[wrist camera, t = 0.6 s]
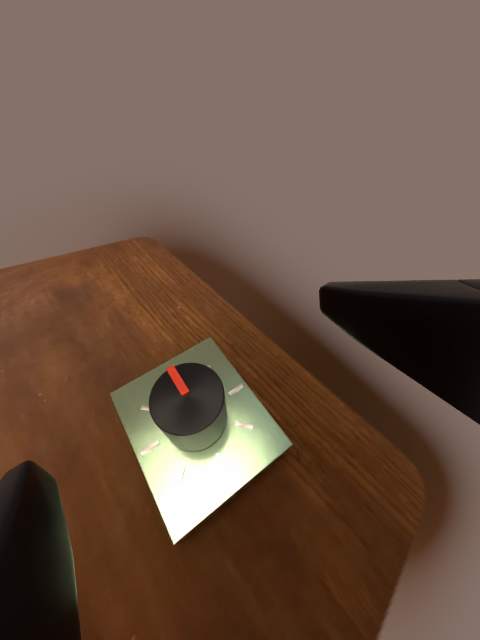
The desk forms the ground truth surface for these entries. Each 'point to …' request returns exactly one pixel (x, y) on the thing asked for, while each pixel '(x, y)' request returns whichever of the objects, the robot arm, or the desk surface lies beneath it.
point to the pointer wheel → (189, 406)
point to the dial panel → (204, 465)
